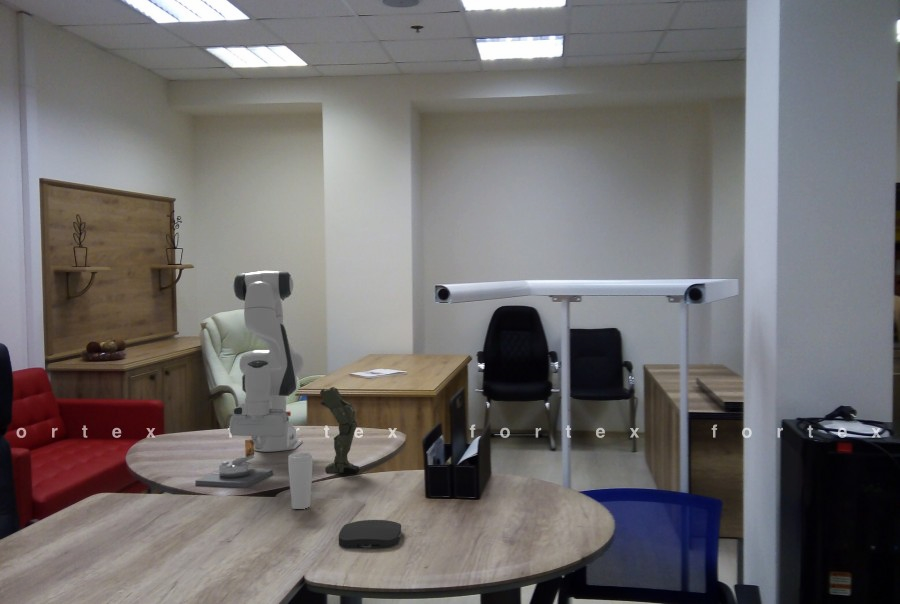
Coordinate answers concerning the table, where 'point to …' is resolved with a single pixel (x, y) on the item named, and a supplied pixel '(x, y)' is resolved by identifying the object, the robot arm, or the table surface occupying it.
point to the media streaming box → (370, 534)
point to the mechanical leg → (341, 430)
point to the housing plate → (234, 479)
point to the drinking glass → (300, 479)
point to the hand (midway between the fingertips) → (259, 449)
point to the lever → (238, 463)
